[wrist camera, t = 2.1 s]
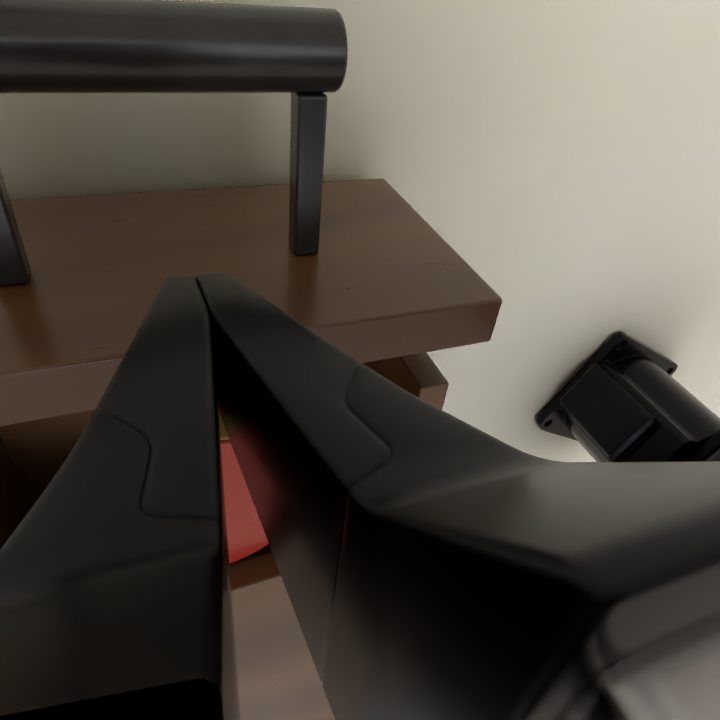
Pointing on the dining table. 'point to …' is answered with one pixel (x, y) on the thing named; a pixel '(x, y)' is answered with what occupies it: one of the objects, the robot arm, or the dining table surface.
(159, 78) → the drawer
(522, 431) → the dining table surface
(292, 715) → the cabinet
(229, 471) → the tin
